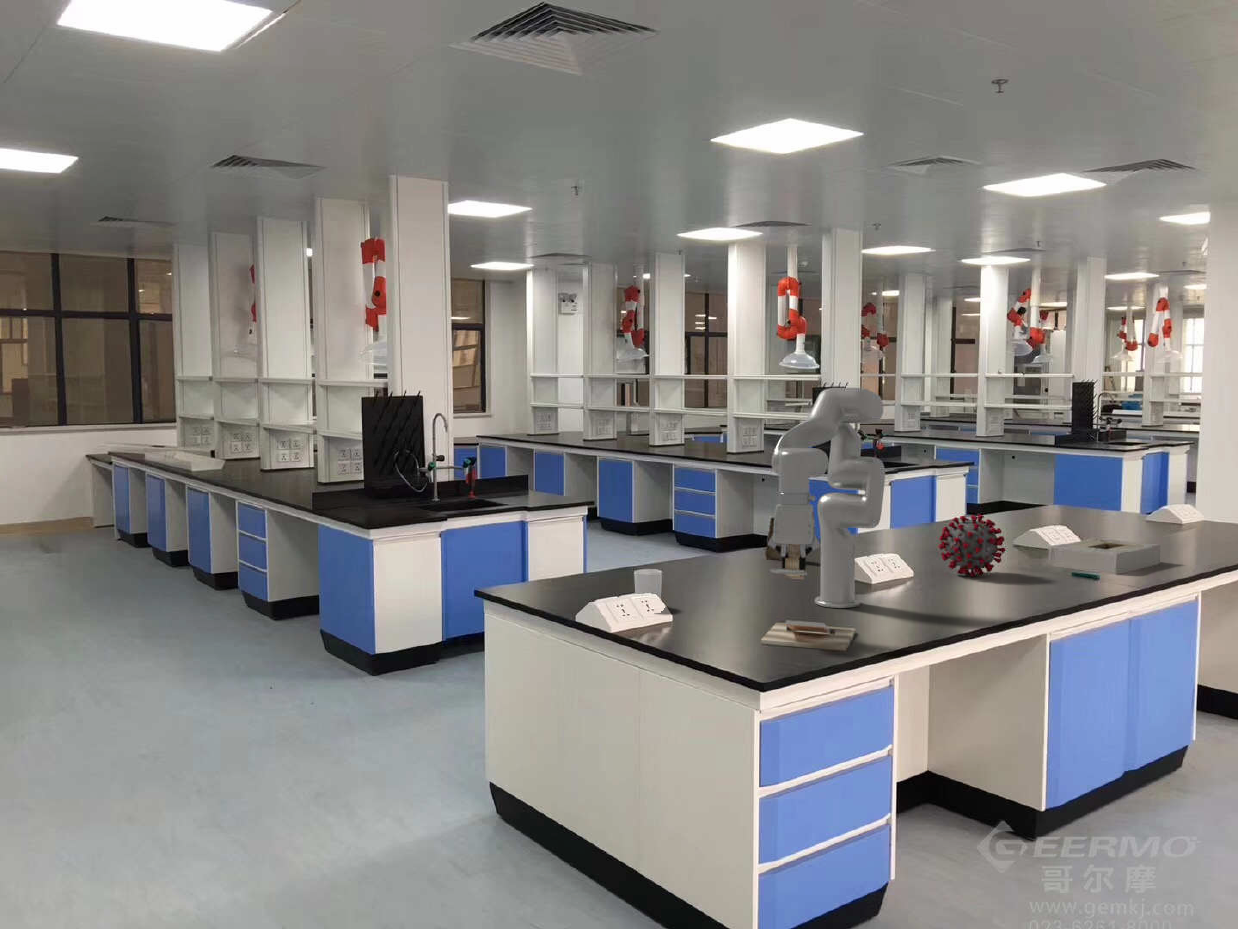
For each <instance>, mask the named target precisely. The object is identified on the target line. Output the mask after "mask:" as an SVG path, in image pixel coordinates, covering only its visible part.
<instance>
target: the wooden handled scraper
mask: <svg viewBox="0 0 1238 929" xmlns="http://www.w3.org/2000/svg"><path fill="white" fill-rule="evenodd" d="M769 571H770V572H771V573H773V574H777V575H779V574H780V575H785V576H787V577H789V578H791V579H792V580H793V579H795V580H797V579H799V580H804V579H805V576H808V572H806V571H805V570H799V559H798V558H785V569H781V568H769Z"/></svg>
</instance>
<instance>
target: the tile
mask: <svg viewBox="0 0 1238 929" xmlns="http://www.w3.org/2000/svg"><path fill="white" fill-rule="evenodd" d="M785 623H786V626H788V627H789V628H790V629H791V630H792V631H804V632H817V633H829V628H828V627H829V626H827V625H826V624H825V623H824V622H815V621H804V620H803V621H800V620H787V619H786V620H785Z"/></svg>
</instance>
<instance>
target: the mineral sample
mask: <svg viewBox="0 0 1238 929" xmlns="http://www.w3.org/2000/svg"><path fill="white" fill-rule="evenodd" d="M769 523H770V524H769V526H768V527H769V531H768V532H767V539H766V542H767V545H766V550H765V558H766V560H770V559H771V560H779V561H782V556H781V554H780V553H779V552H778V551H777V550H776V549H774V548H772V547H771V546H769V545H768V542H769V540H770V538H771V537H772V535H773V528H774V517H770V521H769ZM778 545H780V546H782V544H778ZM787 553H788V555H789V558H798V559H799V557H800V555H801V551H800V545H788V550H787Z"/></svg>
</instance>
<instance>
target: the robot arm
mask: <svg viewBox="0 0 1238 929" xmlns="http://www.w3.org/2000/svg"><path fill="white" fill-rule="evenodd" d="M883 414H884V403H883V399H882V398H881V395H879V394H877V392H874V391H871V390H869V389H866V388H863V387H830V388H826V389H823V390H822V391H820V392H819V394H818V395H817V398H816V400H815V402H814V404H813V405H812V408H811V410H810V412H809V415H808V416H807V418H806V420H804V421H802V422H801V423H799V424H797V425H795V426H794V427H792V428H790V429H789V430H787V431H786V432H785V433H784V434H782V435H781V437H780V438H779V440H778V442H777V444H776V446H775V448H774V450H773V452H772V453H773V454H772V456H771V467H772V468H771V469H772V471H773V472H774V473H775V475H778V504H777V503H776V506H775V511H774V515H773V516H774V517H773V518H774V528H773V535H772V537H771V538H770V540H769V542H768V545H769V546H771V547H772V548H774V549H776V550H777V551H778V552H779V553H780V554H781V556H782V560H781V568H782V569H785V558H789V555H788V553H787V550H788V545H800V551H801V555H800V557H799V570H804V571H805V570H806V569H807V568H806V566H807V558H806V557H807V556H808V555H809V554H810V553H811V552H813V551H814V550H817V549H819V548H820V592H819V593H820V595H819V596H816V597H814V604H816V605H819V606H822V607H826V608H834V609H835V608H836V609H837V608H838V609H846V608H847V609H848V608H856V607H859V606H860V605H861V600H860V599H859V598H858V597H856V596H855V594H856V591H855V590H856V589H855V586H856V585H855V584H856V582H855V577H856V573H855V572H856V569H855V568H856V541H855V539H854V536H853V535H852V533H851V532H850V530H849V529H848V528H851V529H852V528H854V529H855V528H856V529H874V528H877V526H878V525H879V524H880V521H881V516H882V510H883V502H884V501H883V500H884V494H885V493H884V492H885V491H884V490H885V483H886V481H885V480H886V470H885V466H884V463H883V461H882V460H881V459H880V458H877V457H873V456H861V451H862V439H861V437H860V436H859V434H858V432H857V430H856V429H855V428H854V427H853V426H852V425H851V424H867V425H868V424H876V423H879V421H880V420H881V419H882V418H883ZM827 442H830V451H829V457H828V455H827V453H826V452H825V451H823V450H822V449H820V448H817V447H816V446H818V445H821V444H825V443H827ZM813 447H816V448H813ZM826 472H827V483H828V484H829V486H830V487H831V488H833V489H837V490H848V491H864V493H850V492H849V493H848V492H830V493H825V494H823V495H822V496H821V497H819V500H818V502H817V507H816V508H817V516H818V524H819V528H820V529H819V531H820V541H819V538H818V537H817V535H816V521H815V511H814V506H813V504H810V503H811V502H815V501H816V495H813V494H811V492H810V478H820V477H822V476H823V475H824V474H825V473H826ZM778 544H782V546H780V545H778Z"/></svg>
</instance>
